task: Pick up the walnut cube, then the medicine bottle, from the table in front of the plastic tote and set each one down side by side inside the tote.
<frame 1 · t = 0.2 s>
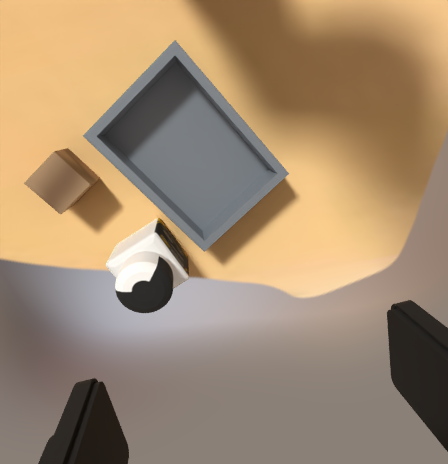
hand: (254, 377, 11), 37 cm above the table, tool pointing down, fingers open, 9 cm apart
walnut cube: (70, 177, 44), on the table
medicine bottle: (152, 250, 48), on the table
tote: (190, 152, 45), on the table
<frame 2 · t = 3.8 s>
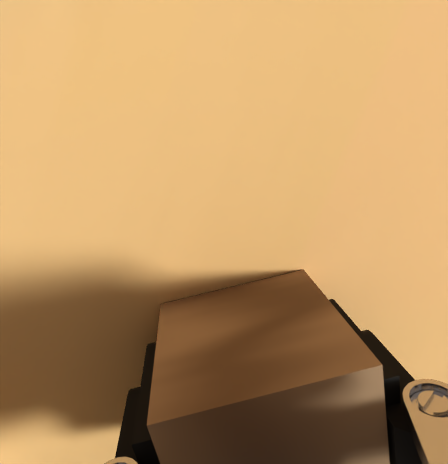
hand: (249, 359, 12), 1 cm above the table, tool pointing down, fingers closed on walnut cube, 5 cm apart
walnut cube: (246, 347, 13), on the table, touching gripper
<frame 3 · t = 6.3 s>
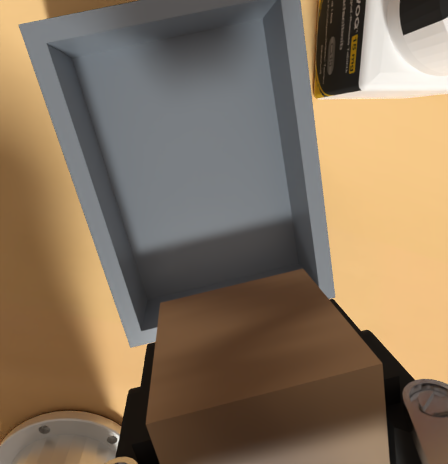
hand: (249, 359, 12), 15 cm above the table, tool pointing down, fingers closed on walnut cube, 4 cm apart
walnut cube: (245, 346, 13), point 14 cm above the table, touching gripper
medicine bottle: (364, 43, 24), on the table
tote: (198, 171, 25), on the table
when the fingers open (3 cm above the table, at t = 8.9 s): walnut cube drops 1 cm, resting on tote.
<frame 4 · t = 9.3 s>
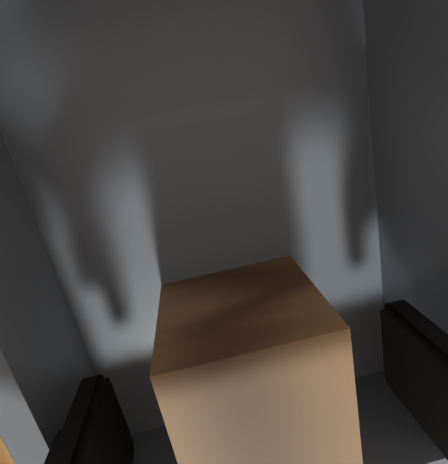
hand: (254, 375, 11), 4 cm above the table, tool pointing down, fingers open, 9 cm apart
walnut cube: (238, 326, 14), point 1 cm above the table, touching tote
tote: (214, 214, 13), on the table
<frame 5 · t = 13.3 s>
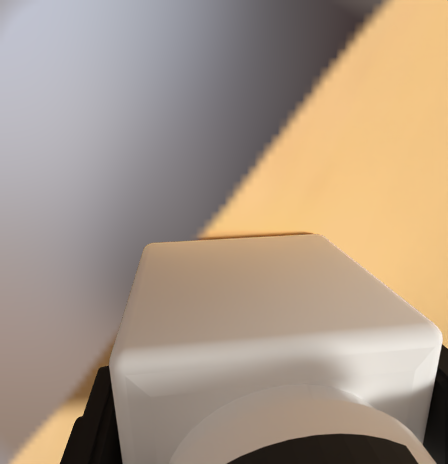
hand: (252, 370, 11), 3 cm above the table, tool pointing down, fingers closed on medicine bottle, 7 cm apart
medicine bottle: (235, 313, 15), on the table, touching gripper
when the fingers open (6 cm above the table, at t = 19.4 s): medicine bottle drops 2 cm, resting on tote.
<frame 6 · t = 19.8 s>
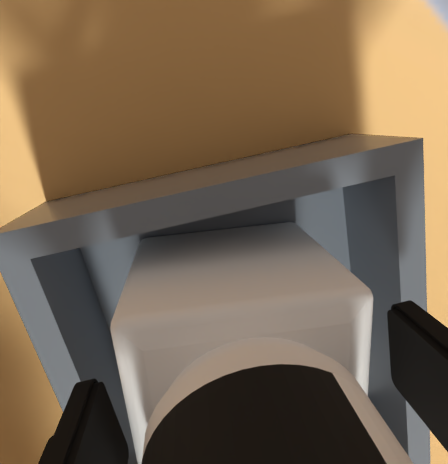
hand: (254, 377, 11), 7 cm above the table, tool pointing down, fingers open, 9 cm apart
medicine bottle: (224, 296, 17), point 1 cm above the table, touching tote
tote: (241, 343, 19), on the table
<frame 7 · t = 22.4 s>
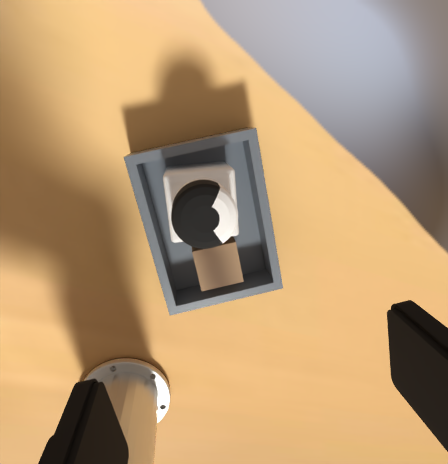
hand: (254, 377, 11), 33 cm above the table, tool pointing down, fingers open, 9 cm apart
walnut cube: (214, 251, 44), point 1 cm above the table, touching tote
medicine bottle: (199, 193, 42), point 1 cm above the table, touching tote
tote: (207, 216, 44), on the table
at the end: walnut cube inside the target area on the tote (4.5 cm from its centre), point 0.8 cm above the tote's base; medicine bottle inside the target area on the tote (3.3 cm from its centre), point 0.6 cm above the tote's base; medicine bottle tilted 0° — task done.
